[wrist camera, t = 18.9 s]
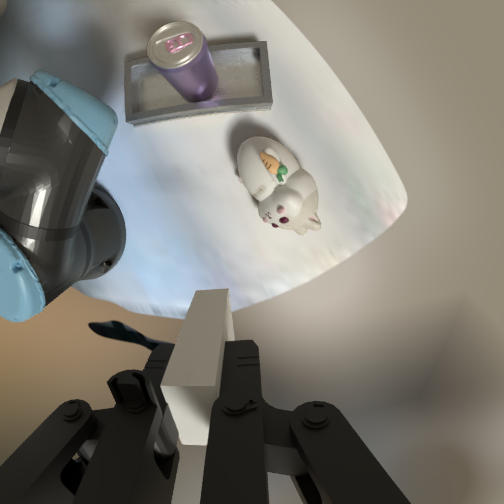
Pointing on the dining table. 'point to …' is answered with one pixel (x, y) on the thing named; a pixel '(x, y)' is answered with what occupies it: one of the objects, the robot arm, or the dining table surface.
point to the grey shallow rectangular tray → (220, 102)
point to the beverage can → (183, 59)
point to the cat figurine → (278, 185)
